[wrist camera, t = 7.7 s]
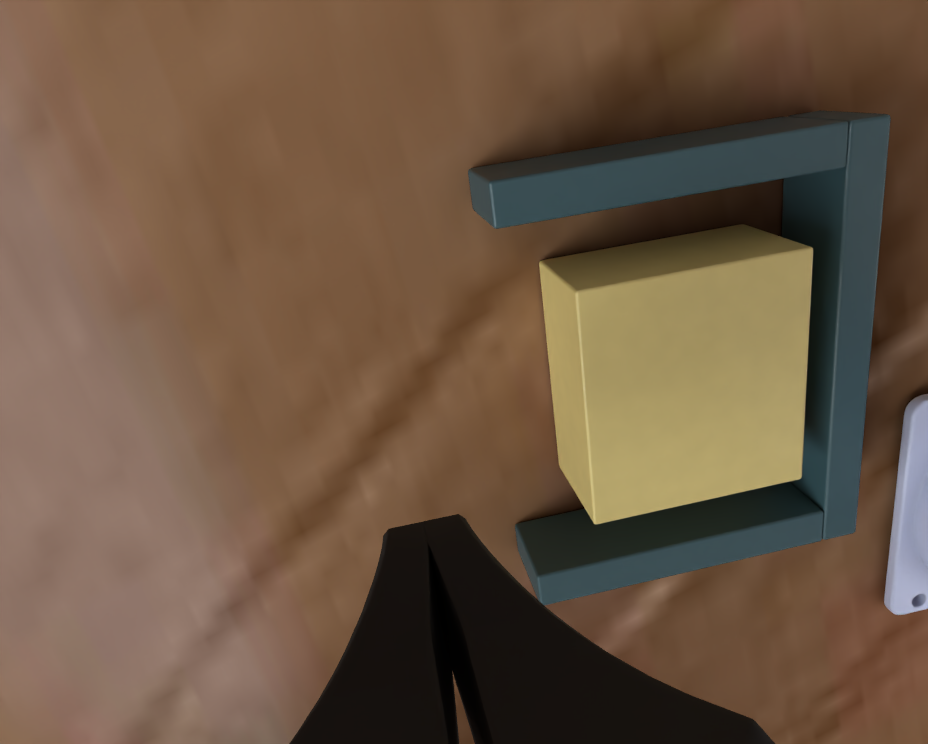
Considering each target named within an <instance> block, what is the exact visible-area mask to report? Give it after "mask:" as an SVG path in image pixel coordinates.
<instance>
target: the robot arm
mask: <svg viewBox="0 0 928 744" xmlns="http://www.w3.org/2000/svg"><path fill="white" fill-rule="evenodd" d="M884 604H885V606H886V607H887V608H888V609H889V610H890V611H891V612H892V613H893V614H896V615H903V614H908V613H912V612H916V611H920V610H924V609H928V394H924V395H920V396H918V397H915V398H914V399H913V400H912V401H910V402H909V404H908V405H907V407H906V409H905V413H904V420H903V429H902V439H901V448H900V457H899V466H898V476H897V485H896V494H895V503H894V513H893V522H892V531H891V540H890V549H889V559H888V568H887V577H886V586H885V596H884ZM452 671H453V674H454V677H455V680H456V684H457V687H458V690H459V693H460V697H461V700H462V703H463V706H464V710H465V713H466V716H467V719H468V722H469V726H470V729H471V732H472V735H473V738H474V742H475V744H775V743H774V742H773V741H772V740H771V739H770V737H769V736H768V735H767V734H766V733H765V732H764V731H763V729H762V728H761V727H760V726H759V725H758V724H757V723H756V722H755V721H754V720H753V719H751V718H748V717H746V716H743V715H741V714H738V713H735V712H733V711H730V710H727V709H725V708H722V707H720V706H717V705H714V704H712V703H709V702H706V701H704V700H701V699H699V698H696V697H693V696H691V695H689V694H686V693H684V692H682V691H680V690H678V689H675V688H673V687H671V686H669V685H667V684H665V683H663V682H661V681H658V680H656V679H654V678H652V677H650V676H648V675H646V674H645V673H643V672H641V671H639V670H638V669H636V668H634V667H632V666H631V665H629V664H627V663H625V662H623V661H622V660H620V659H618V658H616V657H615V656H613V655H611V654H609V653H608V652H606V651H605V650H603V649H602V648H600V647H599V646H597V645H596V644H594V643H593V642H591V641H590V640H588V639H587V638H585V637H584V636H582V635H581V634H580V633H578V632H577V631H576V630H574V629H573V628H572V627H570V626H569V625H567V624H566V623H565V622H564V621H562V620H561V619H560V618H558V617H557V616H556V615H555V614H553V613H552V612H551V611H550V610H549V609H547V608H546V607H545V606H544V605H543V604H542V603H541V602H539V601H538V600H537V599H536V598H535V597H534V596H533V595H531V594H530V593H529V592H528V591H527V590H526V589H525V588H524V587H523V586H522V585H521V584H520V583H519V582H518V581H517V580H516V579H515V578H514V577H513V576H512V575H511V574H510V573H509V572H508V571H507V570H506V569H505V568H504V567H503V566H502V565H501V564H500V563H499V562H498V561H497V559H496V558H495V557H494V556H493V555H492V554H491V553H490V551H489V550H488V549H487V548H486V547H485V545H484V544H483V543H482V542H481V541H480V539H479V538H478V537H477V535H476V534H475V533H474V531H473V530H472V528H471V527H470V525H469V524H468V522H467V520H466V519H465V518H464V517H462V516H461V515H459V514H456V515H452V516H447V517H442V518H438V519H433V520H428V521H424V522H419V523H414V524H409V525H405V526H400V527H395V528H391V529H388V530H387V532H386V533H385V534H384V536H383V544H382V549H381V554H380V558H379V562H378V566H377V569H376V573H375V576H374V580H373V583H372V585H371V588H370V591H369V594H368V597H367V600H366V602H365V605H364V608H363V611H362V613H361V616H360V618H359V620H358V623H357V625H356V627H355V629H354V632H353V634H352V636H351V638H350V641H349V643H348V645H347V648H346V650H345V652H344V654H343V656H342V658H341V660H340V662H339V664H338V666H337V668H336V670H335V671H334V673H333V675H332V677H331V679H330V681H329V682H328V684H327V686H326V688H325V689H324V691H323V693H322V695H321V696H320V698H319V700H318V701H317V703H316V704H315V706H314V707H313V709H312V711H311V712H310V714H309V715H308V717H307V718H306V720H305V722H304V723H303V725H302V726H301V728H300V729H299V731H298V732H297V734H296V735H295V737H294V738H293V740H292V741H291V742H290V744H459V736H458V726H457V715H456V705H455V694H454V684H453V674H452Z"/></svg>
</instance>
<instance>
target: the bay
mask: <svg viewBox="0 0 928 744" xmlns="http://www.w3.org/2000/svg"><path fill="white" fill-rule="evenodd" d="M890 119H891V118H890V115H887V114H876V113H857V112H838V111H814V112H808V113H802V114H796V115H790V116H788V117H778V118H772V119H766V120H760V121H754V122H748V123H742V124H736V125H729V126H723V127H717V128H711V129H705V130H699V131H693V132H687V133H681V134H675V135H669V136H663V137H657V138H651V139H645V140H639V141H633V142H627V143H621V144H615V145H609V146H603V147H597V148H591V149H585V150H579V151H573V152H567V153H561V154H555V155H549V156H543V157H536V158H530V159H524V160H518V161H512V162H506V163H500V164H494V165H488V166H482V167H476V168H471V169H469V171H468V175H469V183H470V190H471V198H472V205H473V209H474V211H475V212H477V213H478V214H479V215H480V216H481V217H482V218H483V219H485V220H486V221H487V222H488V223H489V224H490V225H491V226H493V227H494V228H496V229H499V228H505V227H510V226H516V225H522V224H527V223H533V222H539V221H545V220H550V219H556V218H562V217H567V216H573V215H579V214H584V213H590V212H596V211H602V210H607V209H613V208H619V207H624V206H630V205H636V204H641V203H647V202H653V201H659V200H664V199H670V198H676V197H681V196H687V195H693V194H698V193H704V192H710V191H716V190H721V189H727V188H733V187H738V186H744V185H750V184H755V183H761V182H767V181H773V180H778V179H784V183H783V214H782V237H783V238H786V239H789V240H792V241H795V242H798V243H801V244H804V245H807V246H810V247H812V248H813V265H812V285H811V305H810V324H809V344H808V364H807V384H806V404H805V424H804V444H803V464H802V478H801V479H798V480H794V481H789V482H785V483H780V484H776V485H771V486H767V487H762V488H758V489H753V490H749V491H744V492H740V493H735V494H731V495H727V496H722V497H718V498H713V499H709V500H704V501H700V502H695V503H691V504H686V505H682V506H677V507H673V508H668V509H664V510H659V511H655V512H650V513H646V514H641V515H637V516H632V517H628V518H623V519H619V520H614V521H610V522H605V523H601V524H594V523H593V521H592V519H591V518H590V516H589V514H588V513H587V511H586V510H585V509H581V510H577V511H572V512H568V513H563V514H559V515H554V516H549V517H545V518H540V519H536V520H531V521H527V522H522V523H518V524H516V525H515V530H516V537H517V545H518V551H519V554H520V556H521V559H522V561H523V564H524V566H525V569H526V571H527V574H528V576H529V578H530V581H531V583H532V586H533V588H534V591H535V593H536V596H537V598H538V601H539V602H541V603H542V604H543V605H548V604H552V603H556V602H561V601H565V600H569V599H574V598H578V597H582V596H586V595H591V594H595V593H599V592H604V591H608V590H612V589H617V588H621V587H625V586H629V585H634V584H638V583H642V582H647V581H651V580H655V579H659V578H664V577H668V576H672V575H677V574H681V573H685V572H689V571H694V570H698V569H702V568H707V567H711V566H715V565H720V564H724V563H728V562H732V561H737V560H741V559H745V558H750V557H754V556H758V555H762V554H767V553H771V552H775V551H780V550H784V549H788V548H793V547H797V546H801V545H805V544H810V543H814V542H818V541H821V540H822V539H830V538H835V537H839V536H843V535H847V534H852V533H854V532H855V530H856V518H857V507H858V495H859V483H860V471H861V460H862V448H863V436H864V424H865V413H866V401H867V389H868V378H869V366H870V354H871V342H872V331H873V319H874V307H875V295H876V284H877V272H878V260H879V248H880V237H881V225H882V213H883V201H884V190H885V178H886V166H887V154H888V143H889V131H890Z"/></svg>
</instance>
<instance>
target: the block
mask: <svg viewBox="0 0 928 744" xmlns="http://www.w3.org/2000/svg"><path fill="white" fill-rule="evenodd" d="M812 265H813V248H812V247H810V246H807V245H804V244H801V243H798V242H795V241H792V240H789V239H786V238H783V237H780V236H777V235H774V234H771V233H768V232H765V231H762V230H759V229H756V228H753V227H750V226H747V225H744V224H740V225H734V226H729V227H723V228H718V229H712V230H707V231H701V232H696V233H690V234H684V235H679V236H673V237H668V238H662V239H657V240H651V241H646V242H640V243H635V244H629V245H624V246H618V247H613V248H607V249H601V250H596V251H590V252H585V253H579V254H574V255H568V256H563V257H557V258H552V259H546V260H541V261H540V262H539V268H540V278H541V288H542V298H543V308H544V318H545V328H546V338H547V348H548V358H549V368H550V378H551V389H552V399H553V409H554V419H555V429H556V439H557V449H558V459H559V467H560V468H561V470H562V471H563V473H564V475H565V476H566V478H567V480H568V481H569V483H570V485H571V486H572V488H573V490H574V491H575V493H576V495H577V496H578V498H579V500H580V501H581V503H582V505H583V506H584V508H585V510H586V511H587V513H588V514H589V516H590V518H591V519H592V521H593V523H594V524H601V523H605V522H610V521H614V520H619V519H623V518H628V517H632V516H637V515H641V514H646V513H650V512H655V511H659V510H664V509H668V508H673V507H677V506H682V505H686V504H691V503H695V502H700V501H704V500H709V499H713V498H718V497H722V496H727V495H731V494H735V493H740V492H744V491H749V490H753V489H758V488H762V487H767V486H771V485H776V484H780V483H785V482H789V481H794V480H798V479H801V478H802V464H803V444H804V424H805V404H806V384H807V364H808V344H809V324H810V305H811V285H812Z"/></svg>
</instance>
